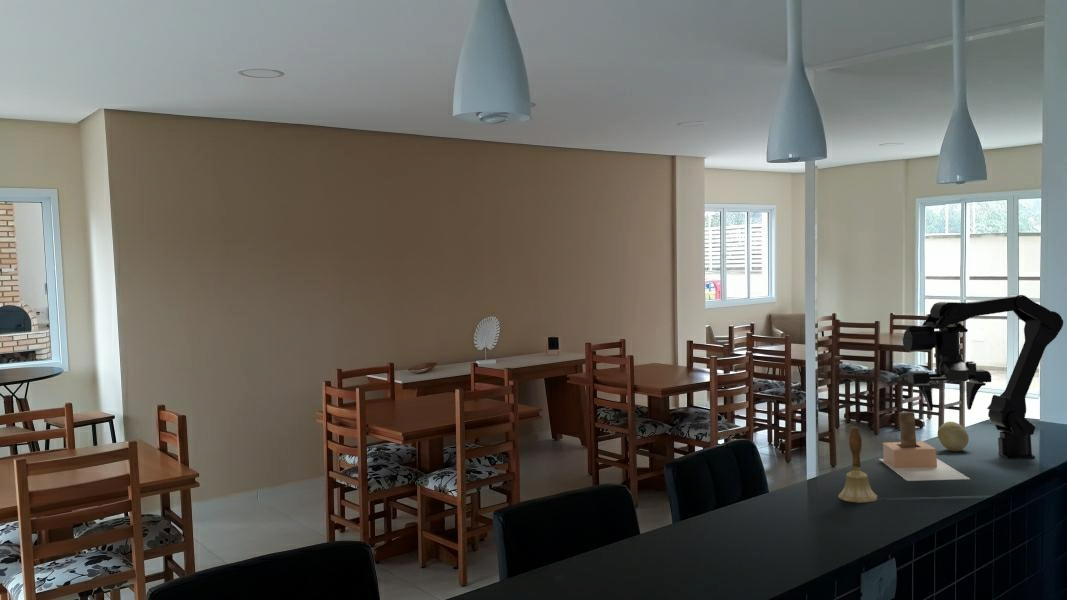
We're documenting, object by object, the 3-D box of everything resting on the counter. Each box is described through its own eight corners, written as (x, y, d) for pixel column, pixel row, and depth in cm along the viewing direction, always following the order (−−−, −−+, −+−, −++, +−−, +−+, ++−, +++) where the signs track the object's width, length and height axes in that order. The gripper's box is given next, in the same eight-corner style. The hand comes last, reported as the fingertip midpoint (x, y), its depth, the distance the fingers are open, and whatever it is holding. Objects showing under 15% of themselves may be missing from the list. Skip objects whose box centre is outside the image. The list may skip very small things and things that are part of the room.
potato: (934, 452, 217) (932, 423, 217) (945, 447, 223) (943, 418, 223) (963, 455, 212) (961, 425, 212) (974, 449, 217) (972, 420, 217)
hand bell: (871, 492, 182) (866, 423, 182) (883, 502, 174) (878, 429, 174) (833, 494, 183) (829, 425, 183) (844, 503, 175) (839, 431, 174)
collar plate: (934, 458, 210) (933, 440, 210) (970, 480, 186) (969, 459, 186) (878, 460, 212) (877, 442, 212) (907, 482, 188) (905, 461, 188)
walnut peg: (914, 461, 206) (911, 411, 206) (919, 464, 203) (916, 413, 203) (900, 461, 207) (897, 412, 207) (904, 464, 203) (901, 414, 203)
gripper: (918, 353, 201) (921, 415, 201) (998, 351, 197) (1001, 413, 197) (905, 350, 212) (908, 409, 212) (981, 348, 208) (984, 407, 208)
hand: (950, 409), depth 207 cm, fingers open, 9 cm apart
